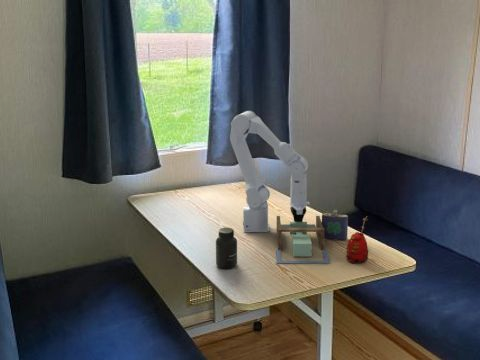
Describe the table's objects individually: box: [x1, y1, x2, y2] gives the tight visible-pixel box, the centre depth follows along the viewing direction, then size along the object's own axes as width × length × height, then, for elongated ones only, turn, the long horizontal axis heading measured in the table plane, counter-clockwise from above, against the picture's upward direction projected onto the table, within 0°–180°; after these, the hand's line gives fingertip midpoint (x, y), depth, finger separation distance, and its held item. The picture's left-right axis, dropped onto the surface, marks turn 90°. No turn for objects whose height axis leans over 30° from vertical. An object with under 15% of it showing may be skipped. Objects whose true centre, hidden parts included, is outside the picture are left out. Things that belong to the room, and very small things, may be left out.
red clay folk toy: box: [345, 216, 369, 264], centre depth 171 cm, size 8×7×15 cm
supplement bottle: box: [215, 227, 238, 270], centre depth 169 cm, size 7×7×12 cm
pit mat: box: [281, 223, 316, 228], centre depth 201 cm, size 14×6×1 cm, turn 88°
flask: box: [321, 209, 349, 241], centre depth 189 cm, size 9×3×11 cm, turn 74°
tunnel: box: [276, 215, 325, 251], centre depth 188 cm, size 16×16×7 cm
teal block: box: [289, 221, 312, 257], centre depth 185 cm, size 6×20×5 cm, turn 178°
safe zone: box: [275, 249, 331, 265], centre depth 176 cm, size 17×10×1 cm, turn 88°
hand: (298, 226), depth 195 cm, fingers closed
